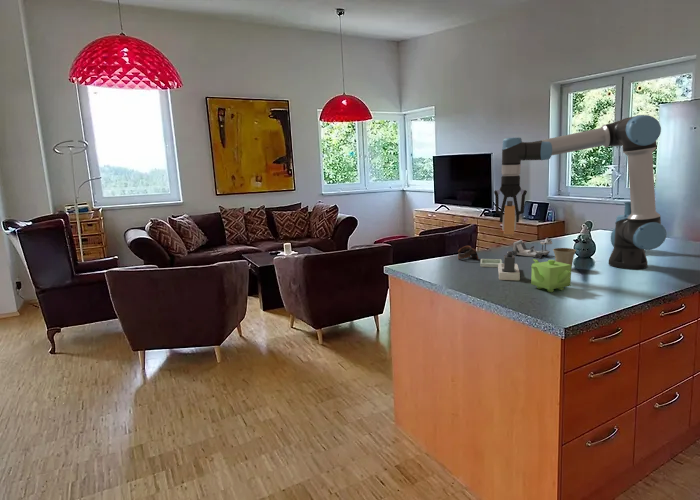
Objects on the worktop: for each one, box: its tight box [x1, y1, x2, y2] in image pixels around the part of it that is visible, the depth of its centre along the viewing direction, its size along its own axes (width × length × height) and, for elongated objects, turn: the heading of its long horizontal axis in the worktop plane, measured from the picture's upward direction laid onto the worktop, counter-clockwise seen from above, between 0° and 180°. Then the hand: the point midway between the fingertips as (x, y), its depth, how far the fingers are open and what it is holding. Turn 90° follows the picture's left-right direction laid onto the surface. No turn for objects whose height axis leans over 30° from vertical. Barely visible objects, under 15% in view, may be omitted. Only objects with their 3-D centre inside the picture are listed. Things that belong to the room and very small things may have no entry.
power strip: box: [497, 250, 521, 281], centre depth 203 cm, size 8×18×11 cm, turn 164°
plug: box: [503, 200, 516, 236], centre depth 204 cm, size 4×5×14 cm
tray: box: [479, 258, 503, 268], centre depth 222 cm, size 10×11×2 cm
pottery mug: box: [457, 245, 479, 260], centre depth 236 cm, size 12×9×8 cm
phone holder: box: [511, 237, 553, 260], centre depth 241 cm, size 18×10×12 cm
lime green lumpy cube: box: [530, 258, 572, 293], centre depth 180 cm, size 15×14×11 cm
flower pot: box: [552, 247, 577, 269], centre depth 211 cm, size 9×9×9 cm
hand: (508, 229), depth 205 cm, fingers closed on plug, 4 cm apart
